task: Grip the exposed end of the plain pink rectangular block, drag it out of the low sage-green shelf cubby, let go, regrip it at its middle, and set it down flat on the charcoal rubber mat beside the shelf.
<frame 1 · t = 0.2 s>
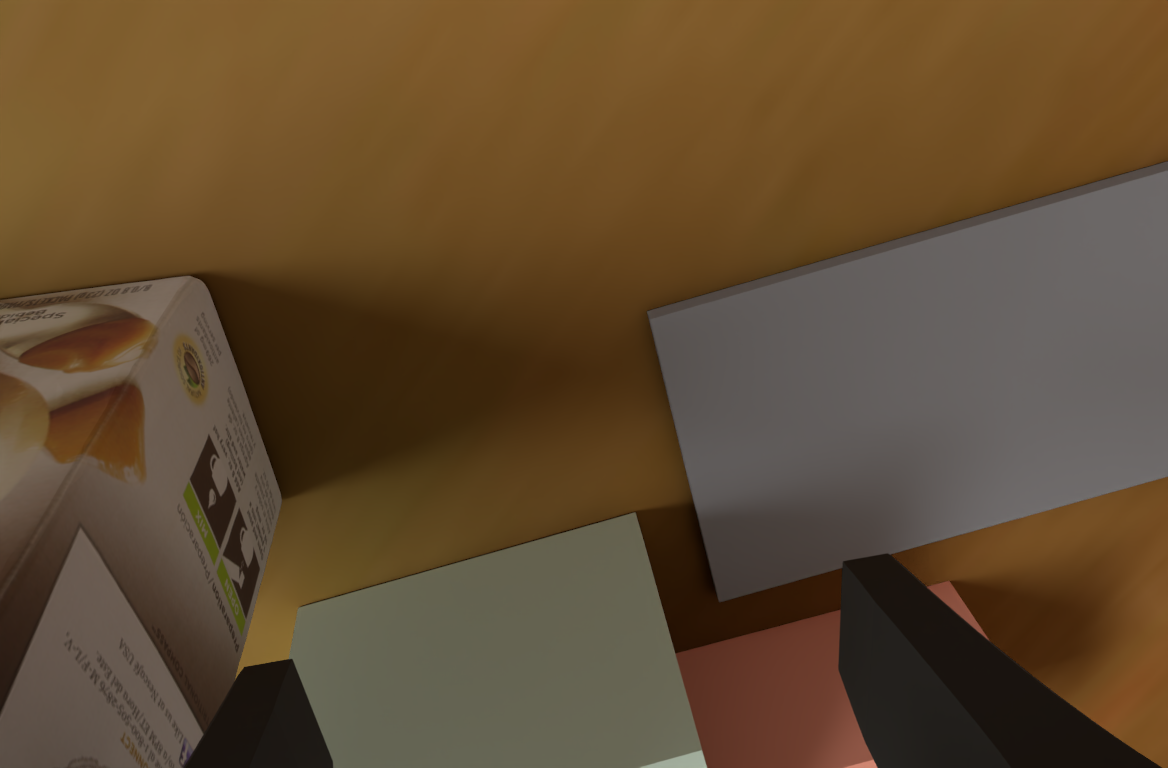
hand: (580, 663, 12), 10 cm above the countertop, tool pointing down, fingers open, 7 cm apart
coffee box: (41, 418, 21), on the countertop
plain pink rectangular block: (738, 689, 28), on the countertop
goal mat: (1035, 366, 23), on the countertop
shelf cubby: (548, 750, 28), on the countertop
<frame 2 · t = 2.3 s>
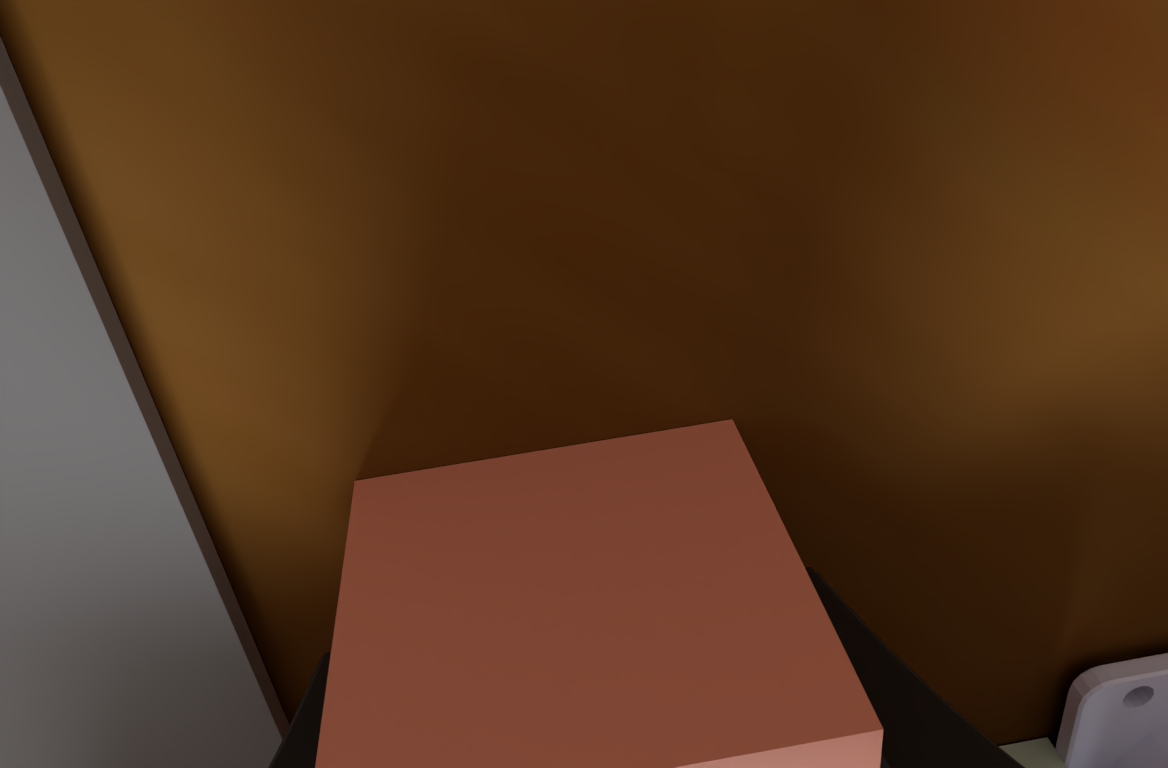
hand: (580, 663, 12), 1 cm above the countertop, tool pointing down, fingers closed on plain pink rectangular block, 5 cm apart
plain pink rectangular block: (595, 765, 16), on the countertop, touching gripper
when the fingers open (1 cm above the countertop, at t = 4.9 s): plain pink rectangular block stays where it is, on the countertop.
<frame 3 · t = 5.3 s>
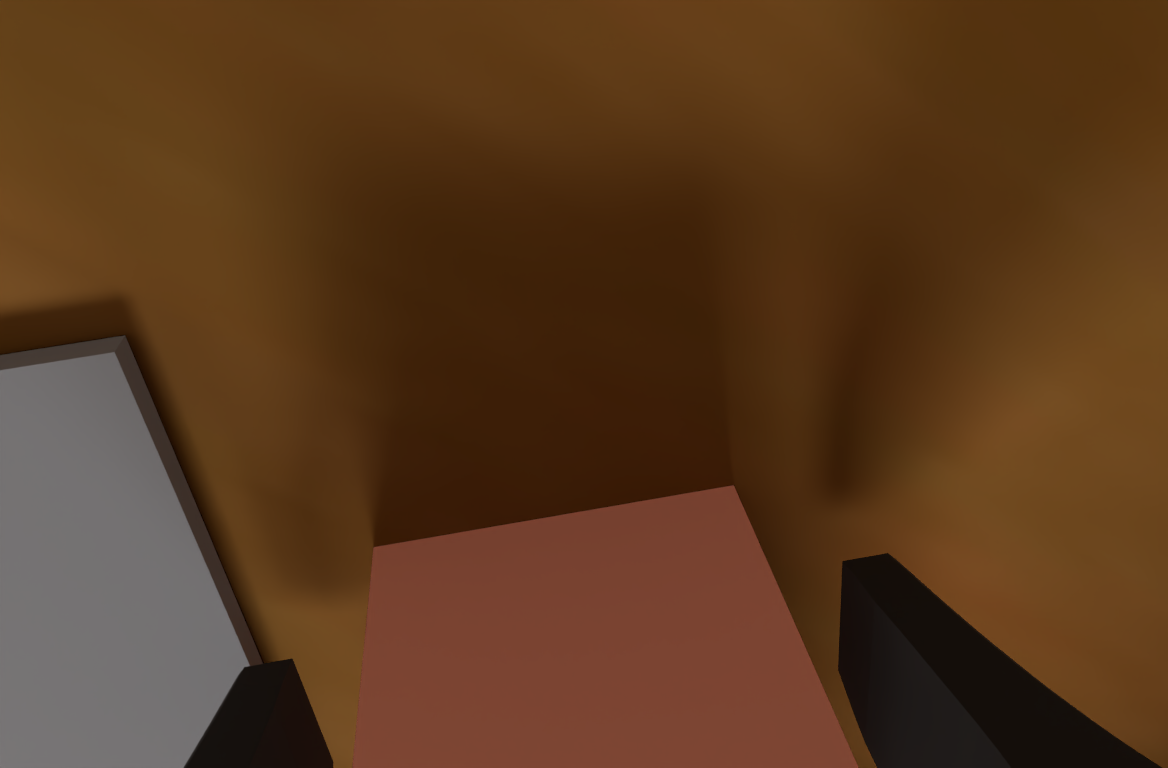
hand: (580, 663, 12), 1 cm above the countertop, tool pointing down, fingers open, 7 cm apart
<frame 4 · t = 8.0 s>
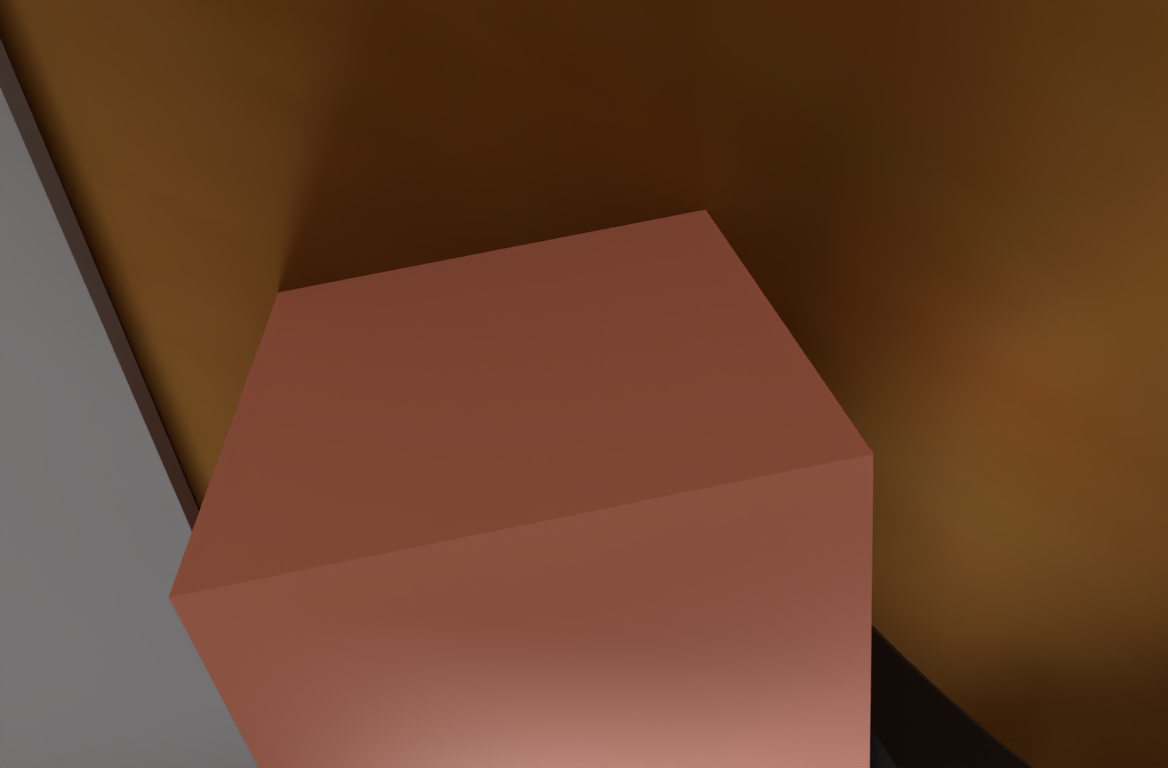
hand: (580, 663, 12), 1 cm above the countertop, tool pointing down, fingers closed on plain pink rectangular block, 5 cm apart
plain pink rectangular block: (579, 642, 14), on the countertop, touching gripper
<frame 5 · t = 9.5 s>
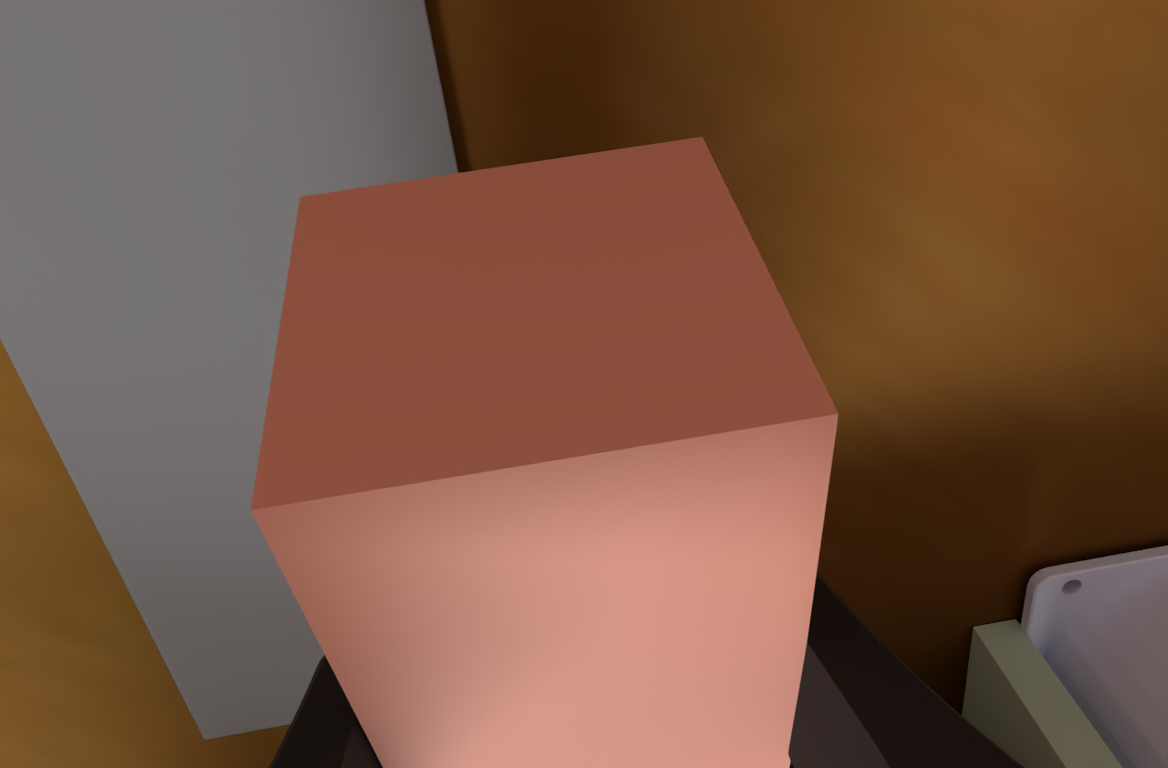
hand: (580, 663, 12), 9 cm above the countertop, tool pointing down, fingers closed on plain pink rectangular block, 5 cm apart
plain pink rectangular block: (558, 504, 16), point 5 cm above the countertop, tilted 12°, touching gripper
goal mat: (282, 401, 19), on the countertop
when the fingers open (8 cm above the countertop, at t = 9.8 s): plain pink rectangular block drops 2 cm, resting on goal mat.
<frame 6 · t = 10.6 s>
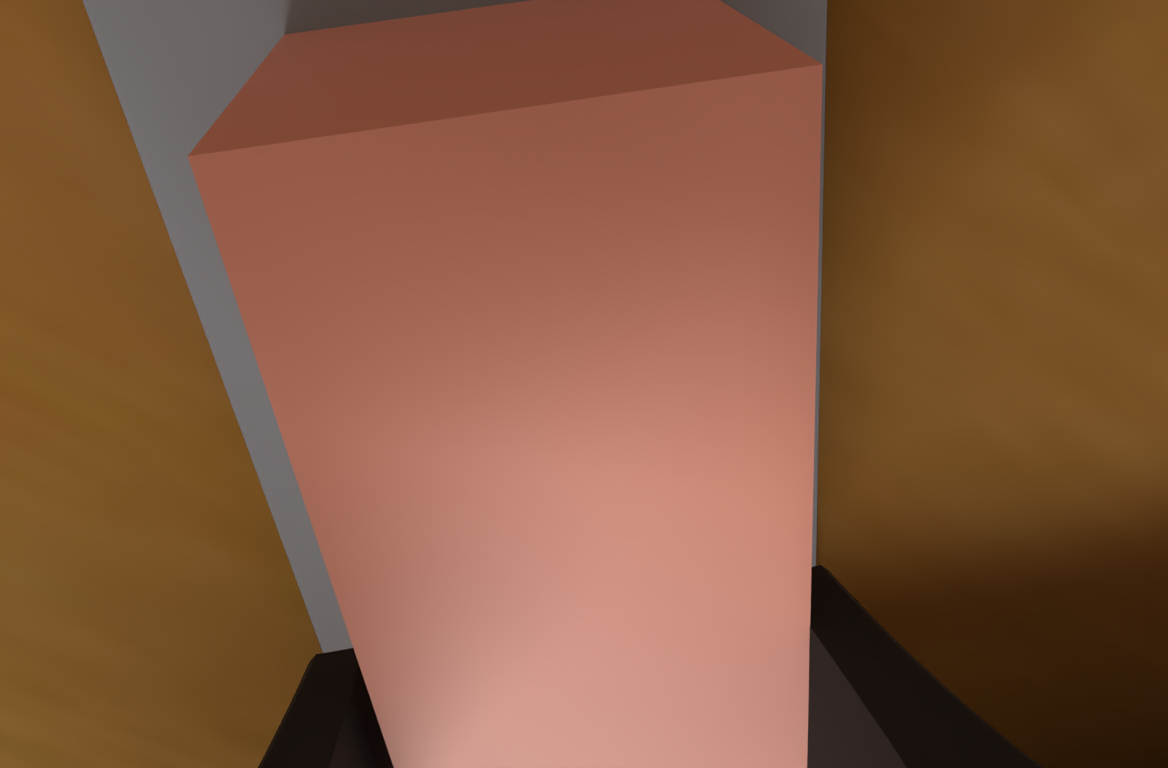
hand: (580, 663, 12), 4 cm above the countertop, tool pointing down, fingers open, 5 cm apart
plain pink rectangular block: (553, 437, 15), resting on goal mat, touching gripper
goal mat: (551, 477, 16), on the countertop
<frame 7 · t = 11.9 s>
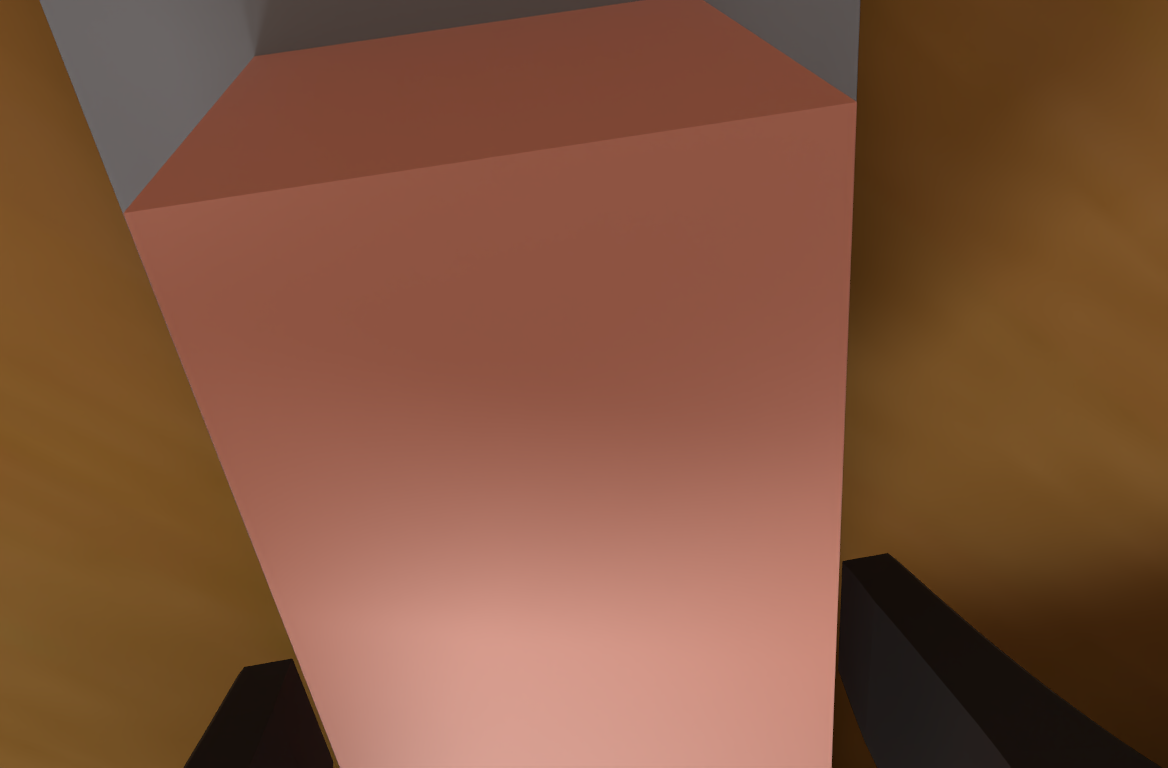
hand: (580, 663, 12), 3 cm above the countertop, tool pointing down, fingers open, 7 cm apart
plain pink rectangular block: (551, 480, 14), resting on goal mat
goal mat: (557, 519, 15), on the countertop
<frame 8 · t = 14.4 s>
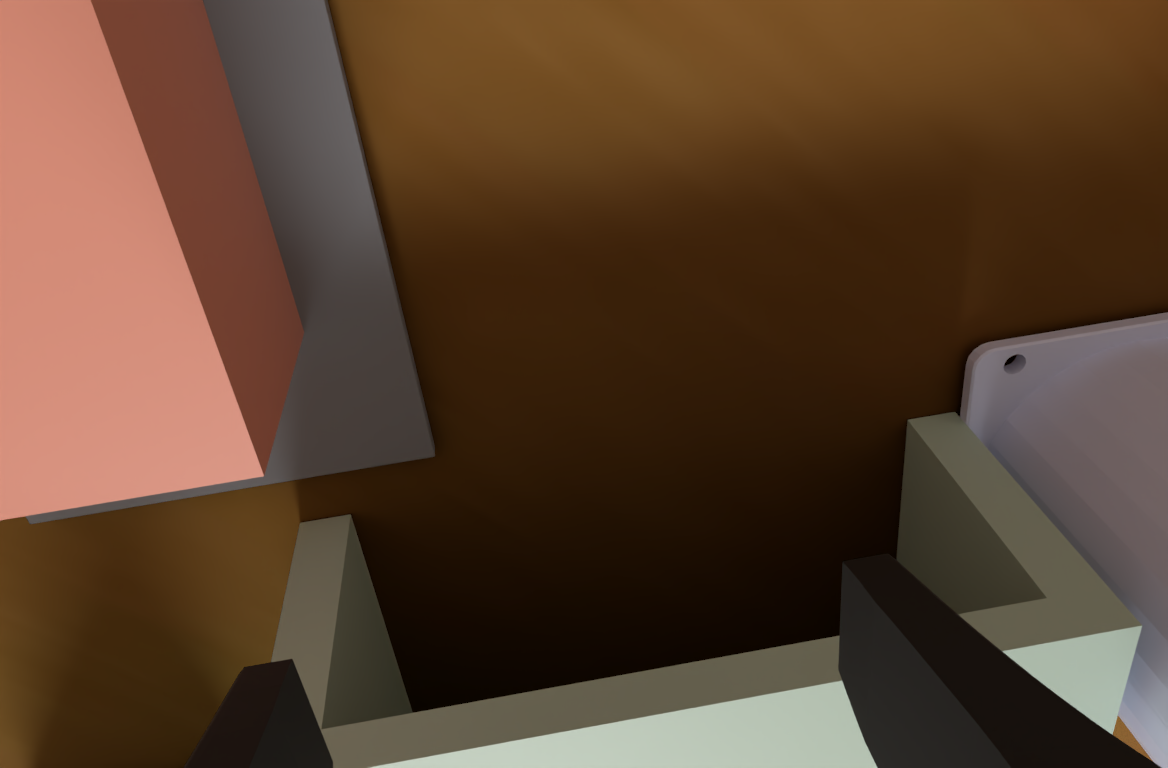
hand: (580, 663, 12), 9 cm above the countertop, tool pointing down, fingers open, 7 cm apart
plain pink rectangular block: (51, 16, 16), resting on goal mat
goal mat: (83, 75, 17), on the countertop
shelf cubby: (647, 602, 25), on the countertop
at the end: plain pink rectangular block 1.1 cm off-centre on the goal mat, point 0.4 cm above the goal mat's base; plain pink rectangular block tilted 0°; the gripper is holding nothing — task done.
